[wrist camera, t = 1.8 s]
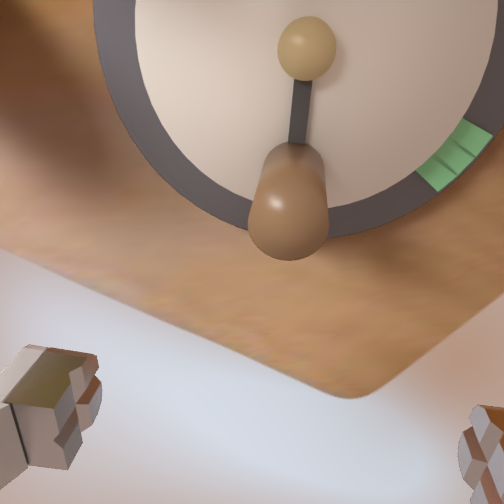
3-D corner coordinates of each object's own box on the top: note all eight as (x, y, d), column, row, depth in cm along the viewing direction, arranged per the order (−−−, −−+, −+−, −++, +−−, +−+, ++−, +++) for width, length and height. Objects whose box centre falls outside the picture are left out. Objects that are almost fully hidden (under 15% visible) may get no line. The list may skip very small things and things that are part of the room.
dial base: (22, -66, 20) (0, -71, 19) (471, -416, 14) (489, -465, 13) (225, 271, 28) (220, 286, 27) (569, 142, 22) (588, 151, 21)
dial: (130, -189, 16) (22, -303, 10) (545, -174, 15) (704, -292, 9) (155, 219, 25) (103, 291, 19) (423, 247, 24) (463, 333, 18)
